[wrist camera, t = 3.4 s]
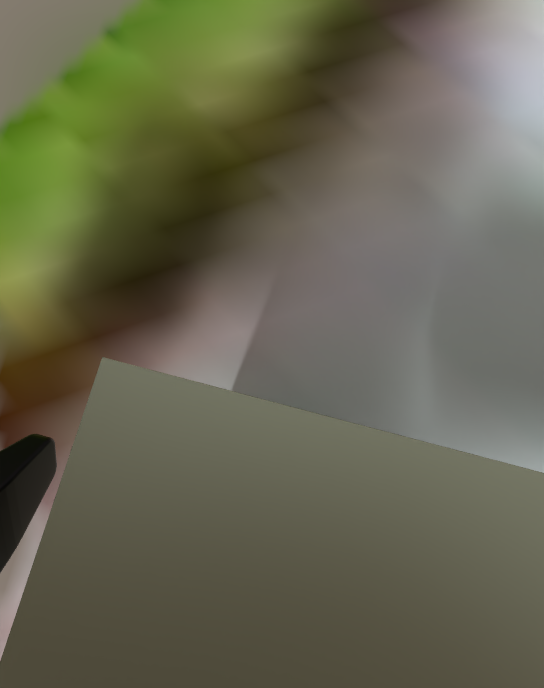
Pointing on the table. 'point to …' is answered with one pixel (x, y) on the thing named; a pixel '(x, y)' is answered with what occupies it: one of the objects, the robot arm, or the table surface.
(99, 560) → the grey green block
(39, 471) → the robot arm
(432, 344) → the table surface
